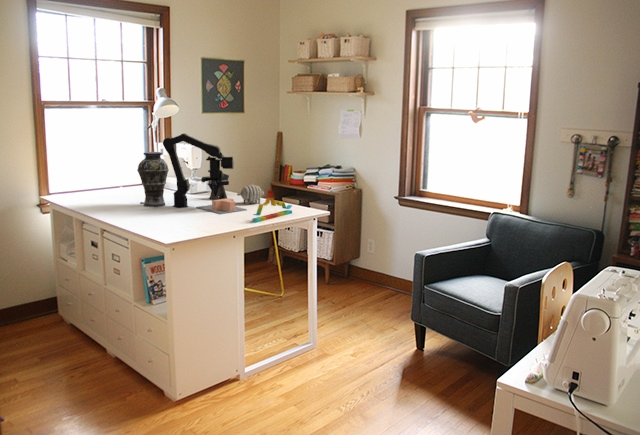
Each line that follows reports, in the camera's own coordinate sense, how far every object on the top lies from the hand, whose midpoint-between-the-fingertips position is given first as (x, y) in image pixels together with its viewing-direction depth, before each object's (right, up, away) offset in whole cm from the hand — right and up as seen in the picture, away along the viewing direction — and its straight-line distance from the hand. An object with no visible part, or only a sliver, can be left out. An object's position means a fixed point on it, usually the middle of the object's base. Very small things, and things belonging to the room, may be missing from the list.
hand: (215, 196), depth 339 cm
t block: (+8, -8, -6) cm, 13 cm away
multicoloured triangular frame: (+34, -13, -22) cm, 42 cm away
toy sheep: (+18, -4, +16) cm, 25 cm away
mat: (+4, -7, -3) cm, 9 cm away
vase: (-35, -5, +3) cm, 36 cm away
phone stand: (-3, -1, +29) cm, 29 cm away
